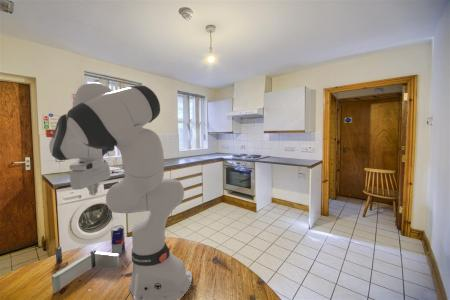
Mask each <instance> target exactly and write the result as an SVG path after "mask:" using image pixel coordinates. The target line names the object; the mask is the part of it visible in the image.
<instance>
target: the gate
mask: <svg viewBox="0 0 450 300" xmlns="http://www.w3.org/2000/svg"><path fill="white" fill-rule="evenodd" d="M91 268H93V267H92V265H91V254H90V253H87V254H86V255H84V256H82V257H81V258H79V259H77V260H76V261H74V262H72V263H70V264H69V265H68V266H66V267H64V268H63V269H61V270H59V271H58V272H55V274H52V275H51V283H52V284H51V285H52V291H53V292H56V293H57V292H59V291H60V290H61V289H62V288H63V287H65V286H67V285H68V284H69V283H71V282H72V281H73V280H75V279H76V278H78V277H79V276H81V275H82V274H83V273H85V272H87V271H88V270H90V269H91Z"/></svg>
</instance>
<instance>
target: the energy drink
mask: <svg viewBox="0 0 450 300" xmlns="http://www.w3.org/2000/svg"><path fill="white" fill-rule="evenodd" d="M110 236H111V237H110V240H111V253H114V254H119V256H121V255H123V254H125V252H126V245H125V244H126V242H125V239H126V238H125V228H124V225H121V224H120V225H115V226H113V227H111V230H110Z"/></svg>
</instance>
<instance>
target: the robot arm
mask: <svg viewBox="0 0 450 300" xmlns="http://www.w3.org/2000/svg"><path fill="white" fill-rule="evenodd" d="M73 97H74V98H73V101H72V108H71V109H70V110H68V111H67V113H65V114H63V115H60V117H59V118H58V121H57V122H56V124H55V125H56V126H55V128H54V133H53V135H52V136H51V139H50V140H49V146H48V147H49V153H50V154H51V156H52V157H53V158H55V159H56V160H58V161H68V160H74V159H77V160H76V161H74V162H73V163H71V164H70V165H69V171H71V172H70V175H69V178H70V179H69V180H70V181H69V182H70V188H71V189H72V190H83V189H85V188H87V190H88V191H89V195H90V196H91V195H95V194H97V193H98V192H99V186H100V183H102V182H104V181H107V180H109V179H110V178H111V170H110V165H109V164H108V163H109V162H108V161H107V160H105V159H104V156H105V155H107V154H108V152H113V151H114V150H115V147H116V149H118V151H119V152H120V156H121V160H122V161H121V163H122V167H123V173H124V178H123V179H122V180H120V181H118V182H117V183H115V184H112V186H110V187H109V188H108V190H107V193H106V196H105V203H106V206H107V208H108V209H109V211H111V212H112V213H114V214H115V213H116V214H134V213H143V212H149V214H147V216H145V217H142V218H141V219H139V220H138V221H137V222H136V223H135V225H134V226H133V228H132V230H131V239H132V248H131V261H132V271H131V272H132V274H131V278H130V283H129V285H128V286H129V287H128V289H129V291H130V294H131V295H132V296H133V300H177V299H180V298H181V297H182V296H184V294H185V293H186V292H187V291H188V292H189V290H190V288H191V286H190V285H192V283H193V274H192V271H191V270H187V268H186V265H185V262H184V261H183V260H181V259H180V258H178V257H177V256H176V255H174V254H173V253H171V252H170V251H171V249H172V244H170V245H169V247H168V245H167V243H166V241H165V239H166V238H165V237H166V236H165V235H166V224H167V221H168V219H169V217H170V215H171V214H172V212H174V210H175V209H176V208H177V207H178V206H180V204H181V203H182V202H183V199H184V197H185V190H184V186H183V184H182V182H181V181H179V179H173V178H164V176H165V174H164V173H165V172H164V170H165V168H164V165H165V163H164V162H165V160H164V159H165V157H164V150H163V144H162V142H161V139H160V137H159V135H158V134H157V133H156V132H155V131H154V130H152V129H150V128H144V126H146V125H147V124H149V123H152V122H153V121H154V120H156V119H157V117H159V115H160V114H161V113H160V112H161V104H160V100H159V98H158V96H157V95H156V93H155V92H154V91H153V90H152V89H151V88H149V87H148V86H146V85H141V84H139V85H137V84H136V85H135V84H134V85H129V86H125V87H123V88H121V89H117V90H114V91H113V90H112V89H111V88H110V87H109V86H107V85H106V84H104V83H101V82H95V81H94V82H93V81H91V82H87V83H86V82H85V83H83V84H81V85H80V86H79V87H78V89H77V90H76V92H75V94H74V96H73ZM191 282H192V283H191ZM189 287H190V288H189ZM188 289H189V290H188ZM188 292H187V293H188ZM181 293H183V294H181ZM187 293H186V294H187ZM184 297H185V296H184Z"/></svg>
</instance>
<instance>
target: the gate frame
mask: <svg viewBox="0 0 450 300" xmlns="http://www.w3.org/2000/svg"><path fill="white" fill-rule="evenodd" d="M54 253H55V261H56V264H60V263H62V262H63V252H62V246H58V247H56V248H55V252H54ZM89 254H90V255H91V265H92V267H91V268H100V269H108V270H109V269H110V270H116V271H117V270H119V269H120V255H119V254H114V253H112V252H103V251H97V250H94V249H93V250H90V253H89Z"/></svg>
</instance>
